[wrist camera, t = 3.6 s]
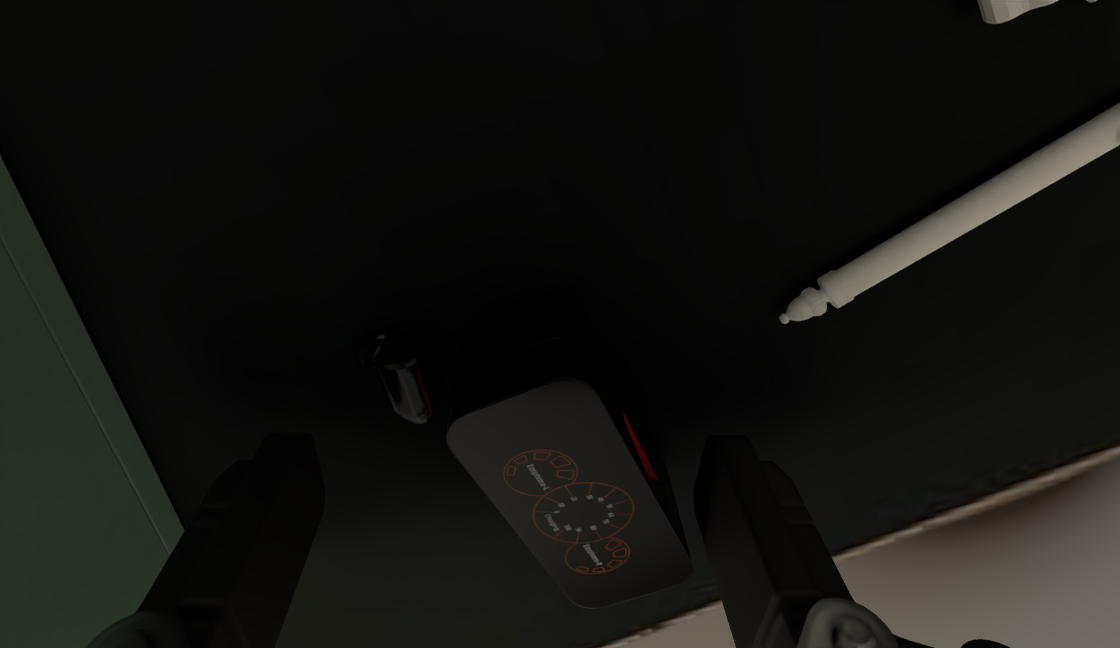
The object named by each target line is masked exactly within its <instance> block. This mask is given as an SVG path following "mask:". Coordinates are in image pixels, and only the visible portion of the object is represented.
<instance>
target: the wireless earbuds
mask: <svg viewBox="0 0 1120 648" xmlns="http://www.w3.org/2000/svg"><path fill="white" fill-rule="evenodd" d="M384 337H385V332H384V331H377V332H371V333H367V334H363V335H360V336H357V337H354V338H353V339H352V341H351V346H352V350H353V352H354V354H355V357H356V359H357V361H358V363H359V365H360V366H361V368H362V369H364V368H366V367H367V366H368V365H369V364H370V363H371V362H372V361H374V366H375V369H376V371H377V374H378V377H379V379H380V382H381V385H382V388H383V391H384V394H385V397H386V401H387V404H388V406H389V408H390V409H391V411H392V412H394V413H395V414H396V415H397V416H398V417H400V418H401V419H402V420H404V421H405V422H407V423H409V424H415V425H421V424H425V423H427V422H428V421H430V420H431V419H432V418H433V417H434V416H435V414H436V413H437V411H438V409H439V406H440V403H441V401H442V398H443V394H444V382H443V378H442V375H441V371H440V367H439V363H438V359H437V356H436V352H435V348H434V344H433V341H432V338H431V337H430V335H428V334H426V333H422V332H408V333H403V334H400V335H396V336H393V337H391V338H390V339H388V340H387V341H386V342H385V341H384ZM446 443H447V445H448V446H449V448H450V450H451V452H452V453H453V454H454V455H455V457H456V458H457V459H458V460H459V462H460V463H461V464H462V465H463V467H464V468H465V469H466V470H467V472H468V473H469V474H470V475H471V477H472V478H473V479H474V480H475V482H476V483H477V484H478V485H479V487H480V488H481V489H482V490H483V492H484V493H485V494H486V495H487V497H488V498H489V499H490V500H491V502H492V503H493V504H494V505H495V507H496V508H497V509H498V510H499V512H500V513H501V514H502V515H503V517H504V518H505V519H506V520H507V522H508V523H509V524H510V525H511V527H512V528H513V529H514V530H515V532H516V533H517V534H518V535H519V537H520V538H521V539H522V540H523V542H524V543H525V544H526V545H527V547H528V548H529V549H530V550H531V552H532V553H533V554H534V555H535V557H536V558H537V559H538V560H539V562H540V563H541V564H542V565H543V567H544V568H545V569H546V570H547V572H548V573H549V574H550V575H551V577H552V578H553V579H554V580H555V582H556V583H557V584H558V585H559V587H560V588H561V589H562V590H563V592H564V593H565V594H566V595H567V597H568V598H569V599H570V600H571V601H572V602H573V603H574V604H576V605H578V606H581V607H585V608H603V607H608V606H611V605H615V604H618V603H621V602H625V601H628V600H631V599H635V598H638V597H641V596H645V595H648V594H651V593H655V592H658V591H662V590H665V589H668V588H672V587H674V586H677V585H679V584H681V583H683V582H684V581H686V580H687V579H688V578H689V577H690V575H691V574H692V571H693V565H692V561H691V557H690V553H689V550H688V546H687V542H686V538H685V535H684V531H683V527H682V523H681V520H680V516H679V512H678V508H677V504H676V501H675V497H674V493H673V489H672V486H671V482H670V478H669V474H668V471H667V467H666V465H665V463H664V461H663V459H662V457H661V455H660V454H659V452H658V450H657V448H656V446H655V444H654V442H653V440H652V438H651V436H650V434H649V432H648V430H647V428H646V426H645V424H644V422H643V420H642V418H641V416H640V414H639V412H638V410H637V408H636V406H635V405H634V403H633V401H632V399H631V397H630V395H629V393H628V391H627V389H626V387H625V385H624V383H623V381H622V379H621V377H620V375H619V373H618V371H617V369H616V367H615V365H614V363H613V361H612V359H611V357H610V356H609V354H608V352H607V350H606V348H605V346H604V344H603V342H602V340H601V338H600V336H599V334H598V332H597V330H596V328H595V326H594V324H593V322H592V320H591V318H590V316H589V314H588V312H587V310H586V308H585V307H584V305H583V304H582V302H581V301H580V300H579V299H578V298H577V297H575V296H574V295H572V294H571V293H568V292H565V291H556V290H555V291H551V292H547V293H544V294H542V295H539V296H537V297H535V298H532V299H530V300H527V301H525V302H523V303H520V304H518V305H515V306H513V307H511V308H508V309H506V310H504V311H501V312H499V313H496V314H494V315H492V316H489V317H487V318H484V319H482V320H480V321H478V322H476V323H475V324H473V325H471V326H470V327H469V328H468V329H467V331H466V332H465V334H464V336H463V338H462V341H461V344H460V350H459V356H458V362H457V368H456V374H455V380H454V386H453V392H452V398H451V404H450V410H449V417H448V423H447V429H446Z"/></svg>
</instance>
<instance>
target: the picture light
mask: <svg viewBox="0 0 1120 648" xmlns="http://www.w3.org/2000/svg"><path fill="white" fill-rule="evenodd" d="M977 1H978V4H979V8H980V11H981V14H982V18H983V21H985V22H987V23H991V24H1000V23H1003V22H1006V21H1009V20H1011V19H1013V18H1015V17H1017V16H1019V15H1020V14H1022V13H1024V12H1027V11H1029V10H1031V9H1035V8H1038V7H1042V6H1046V5H1049V4H1052V3H1054V2H1056V1H1058V0H977ZM1086 1H1088V2H1090V3H1091V2H1095V1H1097V0H1086ZM1119 145H1120V103H1118V104H1116V105H1115V106H1113V107H1111V108H1110V109H1108V110H1106V111H1104V112H1103V113H1101V114H1099V115H1098V116H1096V117H1094V118H1093V119H1091V120H1089V121H1088V122H1086V123H1084V124H1083V125H1081V126H1079V127H1077V128H1076V129H1074V130H1072V131H1071V132H1069V133H1067V134H1066V135H1064V136H1062V137H1061V138H1059V139H1057V140H1055V141H1054V142H1052V143H1050V144H1049V145H1047V146H1045V147H1044V148H1042V149H1040V150H1039V151H1037V152H1035V153H1034V154H1032V155H1030V156H1028V157H1027V158H1025V159H1023V160H1022V161H1020V162H1018V163H1017V164H1015V165H1013V166H1012V167H1010V168H1008V169H1006V170H1005V171H1003V172H1001V173H1000V174H998V175H996V176H995V177H993V178H991V179H990V180H988V181H986V182H985V183H983V184H981V185H979V186H978V187H976V188H974V189H973V190H971V191H969V192H968V193H966V194H964V195H963V196H961V197H959V198H957V199H956V200H954V201H952V202H951V203H949V204H947V205H946V206H944V207H942V208H941V209H939V210H937V211H936V212H934V213H932V214H930V215H929V216H927V217H925V218H924V219H922V220H920V221H919V222H917V223H915V224H914V225H912V226H910V227H909V228H907V229H905V230H903V231H902V232H900V233H898V234H897V235H895V236H893V237H892V238H890V239H888V240H887V241H885V242H883V243H881V244H880V245H878V246H876V247H875V248H873V249H871V250H870V251H868V252H866V253H865V254H863V255H861V256H860V257H858V258H856V259H854V260H853V261H851V262H849V263H848V264H846V265H844V266H843V267H841V268H839V269H838V270H836V271H835V270H831V271H829V272H828V274H827V273H826V274H824V275H823V276H821V277H819V278H818V279H817V281H818V285H819V286H820V290H816V289H814V288H811V287H808V288H806V289H804V290H803V291H802V292H801V294H800V296H798V297H797V298H795V299H793V301H792V302H791V303H790V304H789V305H788V307H787V311H786V314H783V313H782V314H781V315H780V316H779V319H780V321H781V322H782V323H783V324H787V323H789V320H794V321H802V320H807V319H809V318H810V317H812V316H820V315H822V314H823V313H825V312H826V309H827V305H826V303H827V302H830V303H831V304H832V305H833V306H834V307H836V308H837V309H838V308H840V307H841V306H843V305H845V304H847V302H850V301H852V300H854V298H853V297H854V296H856V295H858V294H860V293H861V292H863V291H865V290H867V289H868V288H870V287H872V286H874V285H875V284H877V283H879V282H881V281H882V280H884V279H886V278H888V277H889V276H891V275H893V274H895V273H896V272H898V271H900V270H902V269H903V268H905V267H907V266H909V265H910V264H912V263H914V262H916V261H917V260H919V259H921V258H923V257H924V256H926V255H928V254H930V253H931V252H933V251H935V250H937V249H938V248H940V247H942V246H944V245H945V244H947V243H949V242H951V241H952V240H954V239H956V238H958V237H959V236H961V235H963V234H965V233H966V232H968V231H970V230H972V229H973V228H975V227H977V226H979V225H980V224H982V223H984V222H986V221H987V220H989V219H991V218H993V217H994V216H996V215H998V214H1000V213H1001V212H1003V211H1005V210H1007V209H1008V208H1010V207H1012V206H1014V205H1015V204H1017V203H1019V202H1021V201H1022V200H1024V199H1026V198H1028V197H1029V196H1031V195H1033V194H1035V193H1036V192H1038V191H1040V190H1042V189H1043V188H1045V187H1047V186H1049V185H1050V184H1052V183H1054V182H1056V181H1057V180H1059V179H1061V178H1063V177H1064V176H1066V175H1068V174H1070V173H1071V172H1073V171H1075V170H1077V169H1078V168H1080V167H1082V166H1084V165H1085V164H1087V163H1089V162H1091V161H1092V160H1094V159H1096V158H1098V157H1099V156H1101V155H1103V154H1105V153H1106V152H1108V151H1110V150H1112V149H1113V148H1115V147H1117V146H1119Z"/></svg>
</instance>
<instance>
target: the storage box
mask: <svg viewBox="0 0 1120 648" xmlns="http://www.w3.org/2000/svg"><path fill="white" fill-rule="evenodd" d="M184 531H185V530H184V528H183V526H182V524H181V522H180V520H179V518H178V516H177V514H176V512H175V510H174V507H173V505H172V503H171V501H170V499H169V497H168V495H167V493H166V491H165V489H164V487H163V485H162V483H161V481H160V479H159V477H158V475H157V473H156V471H155V469H154V467H153V465H152V463H151V461H150V459H149V456H148V454H147V452H146V450H145V448H144V446H143V444H142V442H141V440H140V438H139V436H138V434H137V432H136V430H135V428H134V426H133V424H132V422H131V420H130V418H129V416H128V414H127V412H126V410H125V408H124V406H123V403H122V401H121V399H120V397H119V395H118V393H117V391H116V389H115V387H114V385H113V383H112V381H111V379H110V377H109V375H108V373H107V371H106V369H105V367H104V365H103V363H102V361H101V359H100V357H99V355H98V352H97V350H96V348H95V346H94V344H93V342H92V340H91V338H90V336H89V334H88V332H87V330H86V328H85V326H84V324H83V322H82V320H81V318H80V316H79V314H78V312H77V310H76V308H75V306H74V304H73V302H72V299H71V297H70V295H69V293H68V291H67V289H66V287H65V285H64V283H63V281H62V279H61V277H60V275H59V273H58V271H57V269H56V267H55V265H54V263H53V261H52V259H51V257H50V255H49V253H48V251H47V248H46V246H45V244H44V242H43V240H42V238H41V236H40V234H39V232H38V230H37V228H36V226H35V224H34V222H33V220H32V218H31V216H30V214H29V212H28V210H27V208H26V206H25V204H24V202H23V200H22V197H21V195H20V193H19V191H18V189H17V187H16V185H15V183H14V181H13V179H12V177H11V175H10V173H9V171H8V169H7V167H6V165H5V163H4V161H3V159H2V157H1V155H0V648H85V647H86V646H87V645H88V644H89V643H90V642H91V641H92V640H93V639H94V638H95V637H96V636H97V635H98V634H99V633H101V632H102V631H103V630H104V629H106V628H107V627H109V626H110V625H112V624H113V623H115V622H117V621H119V620H120V619H122V618H125V617H127V616H129V615H132V614H134V613H135V612H136V611H137V609H138V608H139V606H140V605H141V603H142V602H143V600H144V598H145V597H146V595H147V593H148V592H149V590H150V588H151V587H152V585H153V583H154V581H155V580H156V578H157V576H158V575H159V573H160V571H161V570H162V568H163V566H164V565H165V563H166V561H167V560H168V558H169V556H170V555H171V553H172V551H173V549H174V548H175V546H176V544H177V543H178V541H179V539H180V538H181V536H182V534H183V533H184Z"/></svg>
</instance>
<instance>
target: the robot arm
mask: <svg viewBox="0 0 1120 648" xmlns="http://www.w3.org/2000/svg"><path fill="white" fill-rule="evenodd" d="M324 503H325V487H324V482H323V478H322V474H321V470H320V466H319V461H318V457H317V453H316V449H315V445H314V441H313V438H312V436H311V434H309V433H269V434H268V435H266V436H265V438H264V439H263V441H262V443H261V445H260V446H259V448H258V450H257V452H256V454H255V456H254V457H253V459H252V460H237V461H236V462H235V463H234V464H233V465H232V466H230V467H229V468H228V469H227V470H226V471H225V472H224V473H222V474H221V475H220V476H219V477H218V478H217V479H216V480H215V481H214V482H213V484H212V485H211V487H210V489H209V490H208V492H207V494H206V495H205V497H204V499H203V501H202V502H201V504H200V509H197V511H196V512H195V514H194V516H193V517H192V519H191V521H190V522H189V527H188V529H185V531H184V533H183V534H182V536H181V538H180V539H179V541H178V543H177V544H176V546H175V548H174V549H173V551H172V553H171V555H170V556H169V558H168V560H167V561H166V563H165V565H164V566H163V568H162V570H161V571H160V573H159V575H158V576H157V578H156V580H155V581H154V583H153V585H152V587H151V588H150V590H149V592H148V593H147V595H146V597H145V598H144V600H143V602H142V603H141V605H140V606H139V608H138V609H137V611H136V612H135V613H134V614H132V615H129V616H127V617H125V618H122V619H120V620H119V621H117V622H115V623H113V624H112V625H110V626H109V627H107V628H106V629H104V630H103V631H102V632H101V633H99V634H98V635H97V636H96V637H95V638H94V639H93V640H92V641H91V642H90V643H89V644H88V645H87V646H86V647H85V648H274V647H275V645H276V642H277V639H278V636H279V634H280V631H281V628H282V625H283V623H284V620H285V617H286V614H287V612H288V609H289V606H290V603H291V601H292V598H293V595H294V592H295V589H296V587H297V584H298V581H299V578H300V576H301V573H302V570H303V567H304V565H305V562H306V559H307V556H308V554H309V551H310V548H311V545H312V543H313V540H314V537H315V534H316V532H317V529H318V526H319V523H320V521H321V518H322V514H323V510H324ZM803 503H804V502H803V500H802V498H801V496H800V495H799V493H798V491H797V489H796V487H795V485H794V483H793V481H792V480H791V479H790V478H789V477H788V476H787V475H786V474H785V473H784V472H783V471H782V470H781V469H780V468H779V467H778V466H777V465H776V464H775V463H774V462H773V461H759V459H758V457H757V455H756V453H755V450H754V448H753V446H752V444H751V442H750V440H749V439H748V437H746V436H744V435H710V436H708V438H707V439H706V442H705V446H704V450H703V454H702V458H701V462H700V466H699V470H698V474H697V478H696V482H695V487H694V507H695V513H696V517H697V521H698V524H699V527H700V531H701V534H702V537H703V540H704V544H705V547H706V550H707V554H708V557H709V560H710V563H711V567H712V570H713V573H714V577H715V580H716V583H717V586H718V590H719V593H720V596H721V600H722V603H723V606H724V609H725V612H726V616H727V619H728V622H729V626H730V629H731V632H732V635H733V639H734V642H735V645H736V648H933V647H930V646H926V645H923V644H919V643H916V642H913V641H909V640H906V639H904V638H901V637H898V636H896V635H894V634H892V632H891V631H890V629H889V628H888V627H887V626H886V625H885V623H884V622H883V621H882V620H881V619H880V618H879V617H878V616H877V615H875V614H874V613H873V612H871V611H870V610H868V609H867V608H865V607H864V606H862V605H860V604H858V603H856V602H855V601H854V600H853V598H852V596H851V595H850V593H849V591H848V589H847V587H846V585H845V583H844V581H843V579H842V577H841V575H840V573H839V572H838V569H837V567H836V565H835V563H834V561H833V559H832V557H831V555H830V554H829V552H828V550H827V548H826V546H825V544H824V542H823V540H822V538H821V536H820V534H819V532H818V530H817V528H816V526H814V525H813V520H812V518H811V516H810V514H809V512H808V510H807V508H806V507H804V505H803ZM961 648H1010V647H1008V646H1005V645H1003V644H1000V643H998V642H994V641H990V640H983V639H978V640H972V641H968V642H967V643H965V644H963V646H962V647H961Z"/></svg>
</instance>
